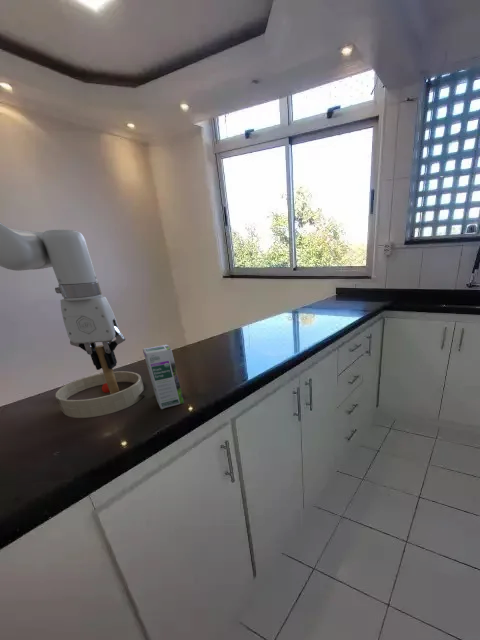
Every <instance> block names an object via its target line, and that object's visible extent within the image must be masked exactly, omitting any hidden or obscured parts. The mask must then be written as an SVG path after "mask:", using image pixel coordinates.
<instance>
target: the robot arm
mask: <svg viewBox="0 0 480 640" xmlns="http://www.w3.org/2000/svg"><path fill="white" fill-rule="evenodd" d="M0 267H1V268H3V269H7V270H11V271H16V272H17V271H18V272H19V271H21V272H22V271H29V270H42V269H43V270H44V269H48V268H52V269H53V272H54V274H55V278H56V280H57V283H58V287H57V286H55V288H54V292H55V293H56V294H57V295H58V294H60V295H61V296H62V298H63V299H60V301H59V302H60V303H59V304H60V311H61V316H62V320H63V324H64V327H65V331H66V334H67V338H68V339H69V344H70V345H71V346H73V347H77V348H80V349H82V350H83V351H84V352H86V354H87V355H90V358H91V361H92V364H93V366H95V370H97V371H100V370H102V367H101V364H100V361H99V358H98V355H97V353H96V350H95V347H96V346H97V344H96V343H102V344H101V345H103V346H104V349H105V352H106V353H105V354H104V357H105V360H106V363H107V366H108V368H109V369H114V368H115V367H117V363H118V360H117V356H116V354H115V350H116V348H117V346H118V345H120V344H122V343H124V342H125V341H126V337H125V336H124V335H123V333H122V332H121V331H120V325H119V323H118V321H117V318H116V315H115V313H114V311H113V308H112V306H111V304H110V302H109V300H108V298H107V297H106V295H103V293H102V291H101V287H100V283H99V280H98V277H97V274H96V270H95V267H94V264H93V261H92V257H91V254H90V251H89V247H88V244H87V241H86V237H85V236H84V235H83V233H81V232H80V231H79V230H73V229H48V230H45V231H36V230H35V231H33V230H25V229H17V228H10V227H8V226H7V225H5V224H3V223H2V222H1V221H0Z"/></svg>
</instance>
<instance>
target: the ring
mask: <svg viewBox="0 0 480 640" xmlns="http://www.w3.org/2000/svg"><path fill="white" fill-rule="evenodd" d="M113 372H114V375H115V378H116V381H117V383H133V384H132V385H130V386H129V387H127V388H124V389H122V390H119V391H120V392H117V393H114V394H108V395H104V396H99V397H93V398H86V399H69V398H70V397H72V396H73V395H76V394H78V393H79V392H82V391H84V390H87V389H90V388H94V387H97V386H101V385H102V386H103V385H104V384H105V383H107V382H106V379H105V376H104V373H103V372H101V373H97V374H92V375H89V376H85V377H81V378H79V379H75V380H73V381H70V382H69V383H67V384H65V385H63V386H62V387H60V388H59V389H58V390H57V391H56V392H55V399H56V401H57V403H58V406H59V408H60V411H61V412H62V413H63V414H64V415H65V416H67V417H69V418H76V419H85V418H86V419H87V418H96V417H101V416H107V415H110V414H113V413H116V412H121V411H122V410H125V409H127V408H129V407H131V406H133V405H136V404H137V403H138V402H140V401H141V400H142V399H143V398H144V397H145V394H142V393H143V391H144V389H145V386H144V382H143V379H142V376H141V375H140V374H139V373H137V372H133V371H123V370H121V371H119V370H118V371H113ZM141 394H142V395H141Z"/></svg>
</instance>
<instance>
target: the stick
mask: <svg viewBox="0 0 480 640" xmlns="http://www.w3.org/2000/svg"><path fill="white" fill-rule="evenodd" d="M95 350H96V353H97V355H98V358H99V361H100V364H101V367H102V368H101V371H102V373H104V376H105V379H106V382H107V385H108V388H109V391H110V392H109V395H111V394H114V393H117V392H120V391H121V390H120V388H119V385H118V382H117V381H116V378H115V375H114V372H115V371H114V370H113V369H114V368H112V369H109V368H108V366H107V363H106V360H105V357H104V354H105V353H106V352H105V349H104V346H103V344H99V345H96V347H95Z"/></svg>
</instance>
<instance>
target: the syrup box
mask: <svg viewBox="0 0 480 640" xmlns="http://www.w3.org/2000/svg"><path fill="white" fill-rule="evenodd" d="M142 352H143V356H144V361H145V363H146V366H147V371H148V374H149V377H150V381H151V384H152V388H153V393H154V395H155V400H156V402H157V404H158V406H159V409H160V410H164V409H167V408H171V407H175V406H178V405H183V404H185V401H184V396H183V392H182V388H181V384H180V380H179V375H178V371H177V366H176V362H175V358H174V354H173V349H172V348H171V347H170V345H168V344H161V345H156V346H151V347H143V348H142Z"/></svg>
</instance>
